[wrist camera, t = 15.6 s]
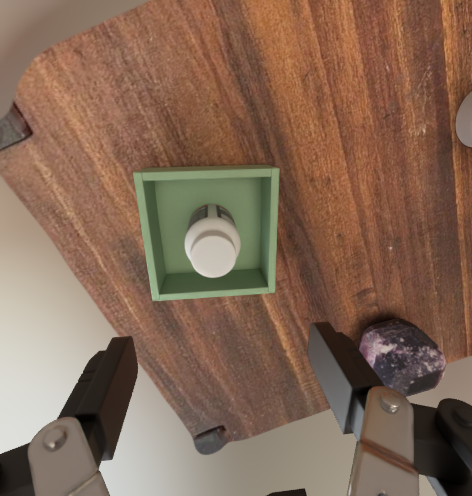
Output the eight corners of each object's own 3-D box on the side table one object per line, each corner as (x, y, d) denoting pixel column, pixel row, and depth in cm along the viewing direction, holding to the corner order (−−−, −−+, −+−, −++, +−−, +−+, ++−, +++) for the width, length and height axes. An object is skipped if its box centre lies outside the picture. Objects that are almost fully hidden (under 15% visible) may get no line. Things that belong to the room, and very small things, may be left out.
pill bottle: (192, 248, 33) (186, 288, 24) (186, 205, 31) (176, 230, 22) (236, 244, 33) (246, 281, 24) (232, 200, 31) (242, 223, 22)
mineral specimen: (394, 381, 43) (418, 432, 33) (339, 339, 44) (347, 377, 34) (440, 338, 40) (482, 380, 30) (380, 295, 41) (402, 323, 32)
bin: (160, 277, 34) (152, 301, 29) (145, 167, 29) (132, 172, 24) (265, 271, 35) (275, 293, 30) (267, 164, 31) (279, 168, 25)
